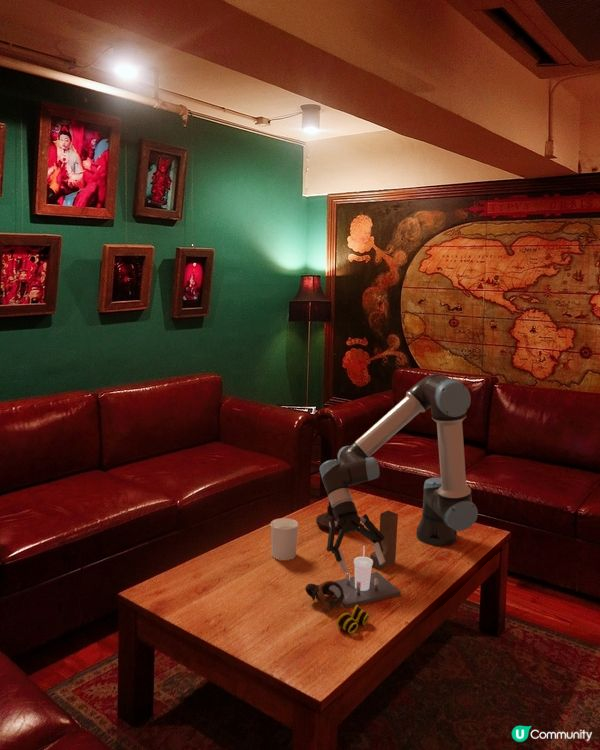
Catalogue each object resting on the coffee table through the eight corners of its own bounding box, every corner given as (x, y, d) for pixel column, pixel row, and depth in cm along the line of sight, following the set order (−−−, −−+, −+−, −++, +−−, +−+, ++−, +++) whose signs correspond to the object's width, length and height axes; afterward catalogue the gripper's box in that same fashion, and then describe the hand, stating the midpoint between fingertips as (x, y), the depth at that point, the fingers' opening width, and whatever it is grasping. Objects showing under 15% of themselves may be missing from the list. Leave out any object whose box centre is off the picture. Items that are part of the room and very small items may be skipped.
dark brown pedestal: (317, 517, 265) (319, 470, 262) (353, 519, 264) (356, 472, 260) (314, 532, 251) (316, 482, 247) (353, 535, 249) (355, 485, 246)
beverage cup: (351, 582, 211) (353, 541, 208) (370, 582, 211) (372, 541, 209) (353, 591, 205) (355, 550, 202) (373, 592, 205) (375, 550, 203)
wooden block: (379, 570, 222) (382, 520, 218) (369, 566, 225) (371, 516, 221) (395, 562, 228) (398, 513, 225) (385, 558, 231) (387, 509, 228)
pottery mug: (341, 596, 205) (348, 582, 200) (336, 623, 198) (343, 609, 193) (305, 585, 206) (310, 570, 201) (298, 611, 198) (304, 596, 193)
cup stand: (376, 575, 218) (377, 560, 218) (400, 595, 206) (401, 579, 205) (323, 586, 210) (324, 571, 209) (344, 608, 198) (345, 592, 197)
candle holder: (265, 558, 228) (265, 526, 226) (276, 547, 237) (277, 516, 235) (291, 564, 225) (291, 531, 222) (301, 552, 234) (302, 520, 231)
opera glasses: (349, 639, 183) (352, 624, 182) (334, 628, 187) (338, 614, 185) (369, 625, 191) (372, 611, 189) (354, 615, 194) (358, 601, 192)
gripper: (370, 504, 224) (392, 564, 214) (305, 515, 214) (324, 578, 203) (379, 495, 219) (402, 555, 208) (312, 505, 208) (333, 570, 197)
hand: (364, 567), depth 206 cm, fingers open, 13 cm apart
